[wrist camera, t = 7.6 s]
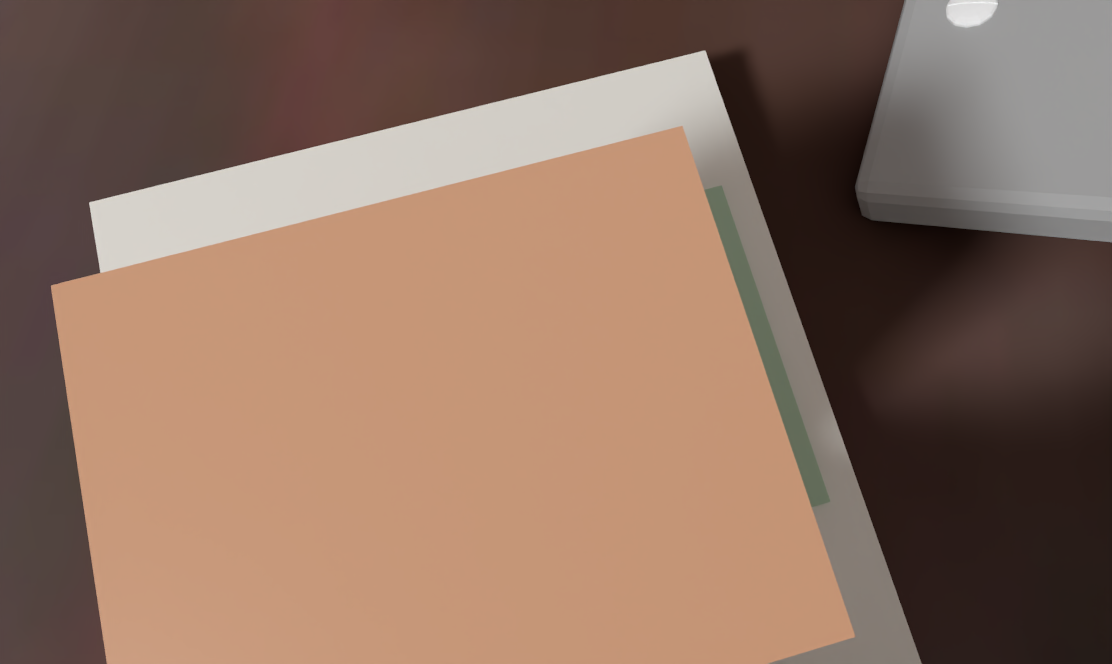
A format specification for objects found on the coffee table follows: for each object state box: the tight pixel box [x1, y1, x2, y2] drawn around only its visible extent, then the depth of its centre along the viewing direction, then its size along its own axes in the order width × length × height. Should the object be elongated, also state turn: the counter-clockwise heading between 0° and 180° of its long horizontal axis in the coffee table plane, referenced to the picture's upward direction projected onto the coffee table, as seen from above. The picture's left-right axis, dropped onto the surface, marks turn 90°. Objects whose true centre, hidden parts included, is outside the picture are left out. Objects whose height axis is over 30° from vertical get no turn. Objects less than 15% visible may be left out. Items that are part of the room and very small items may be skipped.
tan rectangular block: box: [51, 126, 855, 664], centre depth 10 cm, size 5×4×8 cm
